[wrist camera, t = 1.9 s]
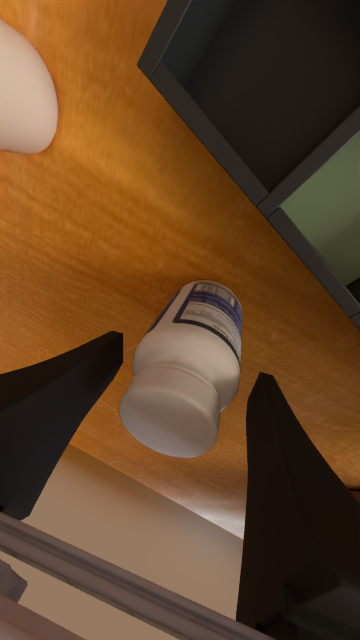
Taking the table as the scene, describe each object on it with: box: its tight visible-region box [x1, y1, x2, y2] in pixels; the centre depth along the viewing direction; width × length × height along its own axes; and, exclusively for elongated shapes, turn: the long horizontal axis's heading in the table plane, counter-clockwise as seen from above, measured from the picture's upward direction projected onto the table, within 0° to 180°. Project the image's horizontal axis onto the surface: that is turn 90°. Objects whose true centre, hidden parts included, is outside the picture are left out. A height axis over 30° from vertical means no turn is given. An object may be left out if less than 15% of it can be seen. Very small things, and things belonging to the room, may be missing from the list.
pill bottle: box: [119, 280, 243, 458], centre depth 13 cm, size 5×5×10 cm
